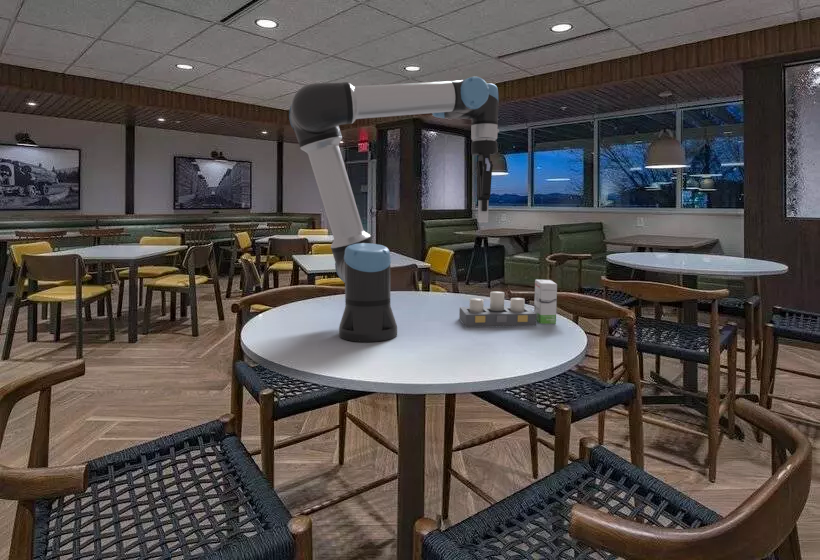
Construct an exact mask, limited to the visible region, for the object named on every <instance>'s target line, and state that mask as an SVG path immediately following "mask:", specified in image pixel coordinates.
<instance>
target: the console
mask: <svg viewBox="0 0 820 560" xmlns="http://www.w3.org/2000/svg"><path fill="white" fill-rule="evenodd" d="M469 308H470V306H459V315H458V316H459V320H460V322H461V323H462V325H463V326H464V327H466V328H476V327H478V328H483V327H484V328H485V327H489V328H490V327H491V328H492V327H493V328H496V326H497V327H499V326H500V327H537V320H536V319H537V314H536V313H535V312H534V310H532V309H530V308H529V307H527V306H526V305H525V306H524V312H511V311H510V306H509V305H508V306H504V310H503V311H492V310H490V306H483V312H469Z"/></svg>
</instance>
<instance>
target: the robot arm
mask: <svg viewBox="0 0 820 560" xmlns="http://www.w3.org/2000/svg"><path fill="white" fill-rule="evenodd" d="M499 102H500V99H499V89H498V87H497V85H496V84H494V83H487V82H486V81H485V79H483V78H481V77H480V76H475V75H474V76H470V77H467V78H465V79H461V80H446V81H445V80H444V81H427V82H425V81H424V82H410V83H395V84H394V83H391V84H390V83H389V84H378V85H377V84H374V85H373V84H372V85H353V84H351V83H350V82H345V81H344V82H313V83H308V84H306V85H304V86H302V87H301V88H299V89H298V90H297V91H296V93H295V94H294V96H293V98H292V102H291V105H290V107H289V112H288V113H289V114H288V119H289V123H290V126H291V128H292V130H293V131H294V133H295V137H296V140H297V142H298V145H299V146H298V147H299V149H300V150H301V151H303V152H305V153H306V154H307V155H308V159H309V163H310V164H311V168H312V172H313V175H314V178H315V181H316V185H317V189H318V191H319V195H320V198H321V201H322V204H323V207H324V210H325V214H326V217H327V220H328V224H329V227H330V230H331V233H332V237H333V241H332V243H331V245H330V250H331V251H332V252H331V253H332V255H333V256H332V257H333V259H334V262H335V264H334V265H335V272H336V274H337V276H338V277H339V279H340V280H341V281H342V282H343V283H344V296H345V297H344V298H345V299H344V302H345V306H344V309H343V314H342V316H341V320H340V323H339V327H338V337H339V338H340V339H342V340H346V341H351V342H360V343H372V342H373V343H375V342H383V341H388V340H391V339H392V340H393V339H394V338H396V337H397V336H398V325H397V322H396V321H397V320H396V318H395V316H394V312H393V309H392V307H391V263H392V258H391V251H390V249H389V248H388V247H387V246H385V245H382V244H378V243H374V242H373V239H372V235H371V234H370V233H369V232H367V231H365V230H364V227H363V224H362V223H363V222H362V220H361V216H360V213H359V209H358V207H357V204H356V199H355V196H354V193H353V190H352V189H353V188H352V186H351V183H350V179H349V176H348V173H347V169H346V165H345V162H344V159H343V156H342V152H341V149H340V143H341V141H342V139H343V136H342V132H341V129H340V126H341V125H351V124H353V123H355V122H356V120H359V119H375V118H387V117H399V116H410V115H411V116H412V115H423V114H424V115H425V114H431V115H432V116H433V117H434V118H439V119H440V118H441V119H444V120H446V119H461V120H462V119H465V120H471V128H470V129H471V133H470V134H471V135H470V138H471V141H472V142H471V144H470V145H471V147H470V148H471V151H470V152H471V155H472V156H478V157H477V161H476V163H475V166H476V167H475V171H476V172H475V174H476V175H475V176H476V199H477V202H478V204H477V205H478V206H477V207H478V208H477V209H478V213H477V215H478V216H477V223H480V224H481V223H485V224H486V223H489V201H490V199H491V190H492V178H493V177H492V175H493V167H494V164H493V161H492V160H491V156H495V155H497V154H498V142H497V139H498V133H499V132H500V129H499V128H498V123H499V121H498V120H499V119H498V118H499Z"/></svg>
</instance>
